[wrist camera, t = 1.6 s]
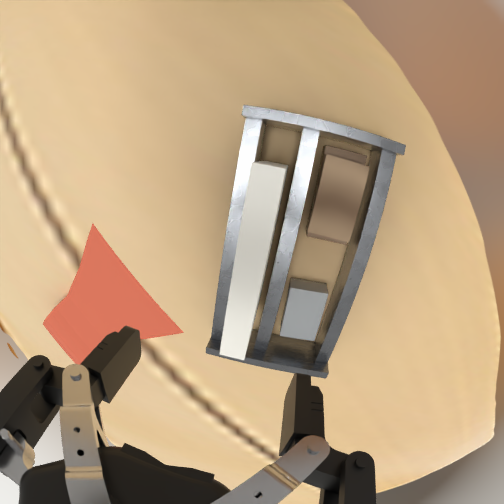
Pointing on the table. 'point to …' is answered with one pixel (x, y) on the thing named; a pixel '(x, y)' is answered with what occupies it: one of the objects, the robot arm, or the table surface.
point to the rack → (356, 257)
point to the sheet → (104, 304)
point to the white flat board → (252, 254)
